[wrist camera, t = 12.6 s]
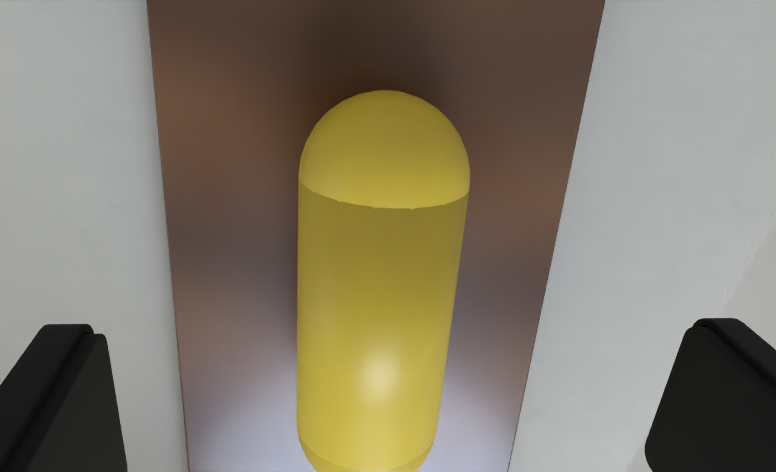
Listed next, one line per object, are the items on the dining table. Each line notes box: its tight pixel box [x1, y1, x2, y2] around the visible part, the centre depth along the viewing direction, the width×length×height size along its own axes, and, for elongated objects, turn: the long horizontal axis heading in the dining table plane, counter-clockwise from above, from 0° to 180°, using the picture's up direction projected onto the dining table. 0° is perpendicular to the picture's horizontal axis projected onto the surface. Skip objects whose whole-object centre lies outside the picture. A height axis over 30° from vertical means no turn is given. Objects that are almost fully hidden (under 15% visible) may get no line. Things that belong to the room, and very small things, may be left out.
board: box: [146, 0, 605, 472], centre depth 15 cm, size 18×10×1 cm, turn 176°
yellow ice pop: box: [296, 90, 470, 472], centre depth 14 cm, size 11×4×4 cm, turn 176°
